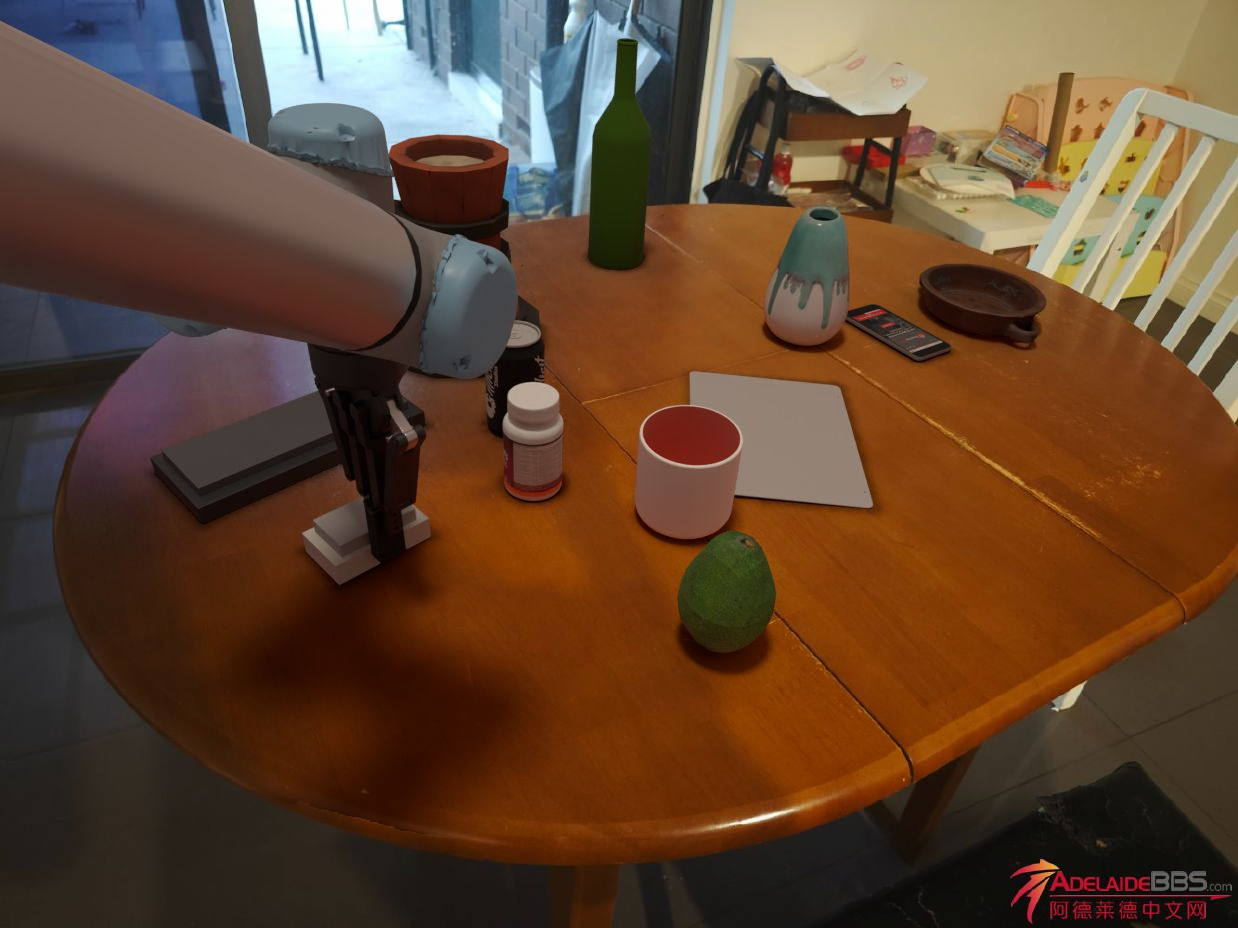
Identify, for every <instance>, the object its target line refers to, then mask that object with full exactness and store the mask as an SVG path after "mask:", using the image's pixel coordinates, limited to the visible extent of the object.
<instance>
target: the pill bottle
mask: <svg viewBox="0 0 1238 928" xmlns="http://www.w3.org/2000/svg"><path fill="white" fill-rule="evenodd" d="M507 410H508V412H507V414H506V415H505V417H504V419H503V435H502V444H503V449H502V450H503V483H504V487H505V489H506V491H507V492H508V493H509V494H510V495H512V496H513V497H514V498H517V499H520V500H523V501H528V502H529V501H530V502H537V501H538V502H539V501H544V500H547V499H550V498H551V497H553V496H554V495H556V494H557V493H558V492H559V491H560V490H561V487H562V484H563V461H564V457H563V453H564V427H565V426H564V425H565V423H564V419H563V416H562V415H561V413H560V393H559V391H558V390H557V389H556V388H555V387H554V386H552V385H550V384H548V383H545V382H544V383H538V382H528V383H522V384H519V385H516V386H514V387H513V388H512V389H511V390H510V391H509V392H508V396H507Z"/></svg>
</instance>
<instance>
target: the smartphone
mask: <svg viewBox="0 0 1238 928" xmlns="http://www.w3.org/2000/svg"><path fill="white" fill-rule="evenodd" d="M845 321H847V322H849V323H850V324H852V325H854V326H855V327H857V328H859V329H861V330H862V331H864V332H866V333H867V334H869V335H871V336H873V337H874V338H876V339H877V340H879V341H881V342H883V343H885V344H886V345H888V346H890V347H892V348H893V349H895V350H896V351H898V352H900V353H902V354H903V355H905V356H907V357H908V358H910V359H912V360H914V361H915V362H922V361H924V360H927V359H930V358H933V357H936V356H939V355H941V354H944V353H947V352H950V351H951V350H952V347H953V346H952V344H950V343H949V342H947V341H945V340H943V339H942V338H939V337H938V336H936V335H934V334H933V333H931V332H929V331H927V330H925V329H923V328H921V327H920V326H917V325H916V324H915V323H912V322H910V321H908V320H907V319H905V318H903V317H901V316H900V315H897V314H896V313H894V312H892V311H890V310H888V309H887V308H885V307H883V306H881V305H880V304H877V303H871V304H867V305H864V306H860V307H856V308H853V309H850V310H848V313H847V317H846V319H845Z"/></svg>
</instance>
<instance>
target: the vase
mask: <svg viewBox="0 0 1238 928" xmlns="http://www.w3.org/2000/svg"><path fill="white" fill-rule="evenodd" d="M848 235H849V233H848V229H847V225H846V221H845V219H844V218H843V215H842V214H841V212H840V211H839V210H837V209H836V208H833V207H830V206H823V205H818V206H817V205H816V206H811V207H810V208H808V209H806V210H804V212H803V213H802V214H801V215H800V216H799V218H797V220H796V222H795V224H794V226H793V228H792V229H791V232H790V234H789V237H788V239H787V241H786V244H785V246H784V249H783V251H782V253H781V255H780V257H779V259H778V262H777V264H776V266H775V268H774V271H773V272H772V275H771V276H770V278H769V281H768V284H767V287H766V290H765V294H764V297H763V306H762V307H763V308H762V309H763V310H762V311H763V316H764V320H765V322H766V325H767V327H768V328H769V330H770V331H771V333H773V335H775V336H776V338H778V339H780V340H781V341H784V342H786V343H789V344H791V345H795V346H803V347H812V346H817V345H821V344H824V343H826V342H828V341H830V340H831V339H832V338H833V337H835V336H836V335H837V334H838V333H839V332H840V331H841V329H842V328H843V326H844V324H845V323H846V320H845V319H846V317H847V313H848V311H849V308H850V297H851V295H850V293H851V292H850V291H851V289H850V287H851V286H850V285H851V283H850V280H851V279H850V278H851V277H850V274H851V272H850V261H849V259H850V258H849V255H850V254H849V236H848Z"/></svg>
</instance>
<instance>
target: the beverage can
mask: <svg viewBox="0 0 1238 928" xmlns="http://www.w3.org/2000/svg"><path fill="white" fill-rule="evenodd" d="M541 334H542V333H541V329H540V330H539V328H538V327H537V326H535V325H533V324H531V323H528V322H524V321H517V320H515V321H514V325H513V328H512V331H511V336H510V339H509V341H508V344H507V346H506V348H505V350H504V352H503V353H502V355H501V357H500V358H499V359H498V361H497V362H496V363H495V364H494V366H493V367H492V368H491V369H490V370H489V371H487V372H485V376H484V377H485V401H486V404H485V405H486V420H487V424H488V425H489V426H490V428H491V429H493V430H494V431H495V432H496V433H498V434H499V435H501V436H503V419H504V417H505V415H506V414H507V412H508V410H507V396H508V392H509V391H510V390H511V389H512V388H513V387H514V386H516V385H519V384H522V383H528V382H538V383H544V384H545V359H546V358H545V356H546V355H545V354H546V353H545V352H546V350H545V341H544V340H543V338H542V337H541V336H542V335H541Z"/></svg>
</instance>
